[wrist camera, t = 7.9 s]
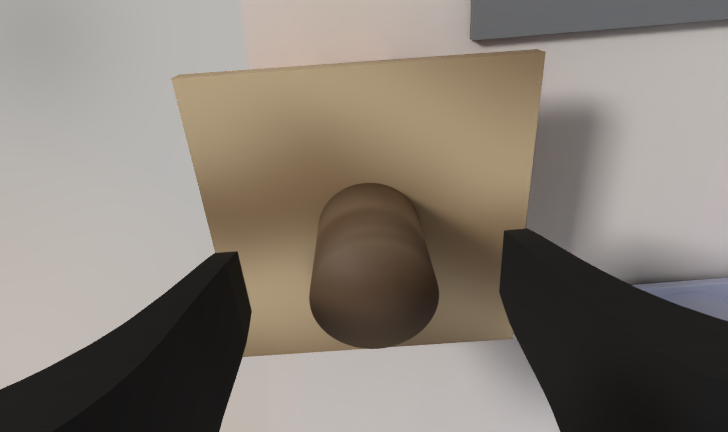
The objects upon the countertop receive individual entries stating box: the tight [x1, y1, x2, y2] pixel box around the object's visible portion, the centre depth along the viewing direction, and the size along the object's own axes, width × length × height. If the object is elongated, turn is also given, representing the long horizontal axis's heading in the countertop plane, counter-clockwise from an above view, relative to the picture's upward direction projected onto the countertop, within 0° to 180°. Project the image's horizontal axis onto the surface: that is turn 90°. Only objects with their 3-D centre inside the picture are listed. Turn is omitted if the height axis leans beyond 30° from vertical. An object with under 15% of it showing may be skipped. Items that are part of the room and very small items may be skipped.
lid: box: [172, 49, 545, 357], centre depth 13 cm, size 10×10×4 cm
